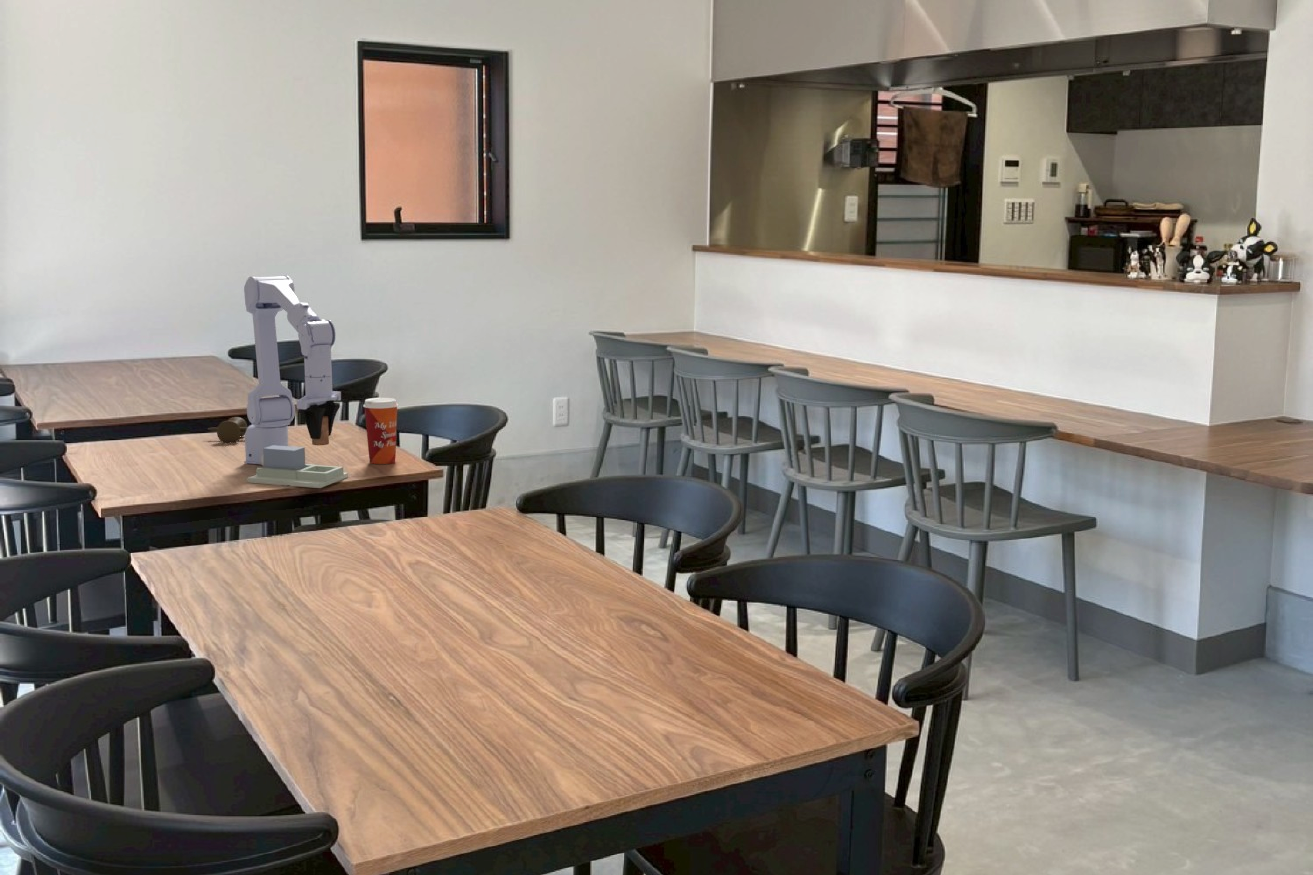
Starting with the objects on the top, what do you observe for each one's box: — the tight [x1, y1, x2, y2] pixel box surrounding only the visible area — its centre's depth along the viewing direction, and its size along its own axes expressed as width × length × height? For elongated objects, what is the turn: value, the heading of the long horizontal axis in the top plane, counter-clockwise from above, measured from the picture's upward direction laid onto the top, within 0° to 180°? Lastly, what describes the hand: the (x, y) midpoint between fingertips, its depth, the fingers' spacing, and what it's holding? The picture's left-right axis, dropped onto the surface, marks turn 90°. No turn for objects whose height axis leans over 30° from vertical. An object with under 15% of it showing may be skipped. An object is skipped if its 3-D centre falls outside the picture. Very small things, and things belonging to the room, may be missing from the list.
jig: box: [246, 463, 349, 489], centre depth 285 cm, size 18×12×3 cm, turn 74°
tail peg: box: [311, 416, 330, 446], centre depth 282 cm, size 4×4×6 cm
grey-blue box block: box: [260, 445, 306, 470], centre depth 286 cm, size 9×4×6 cm, turn 74°
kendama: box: [207, 416, 249, 444], centre depth 332 cm, size 6×10×20 cm
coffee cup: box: [362, 397, 399, 465], centre depth 304 cm, size 8×8×15 cm
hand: (320, 437), depth 282 cm, fingers closed on tail peg, 4 cm apart
